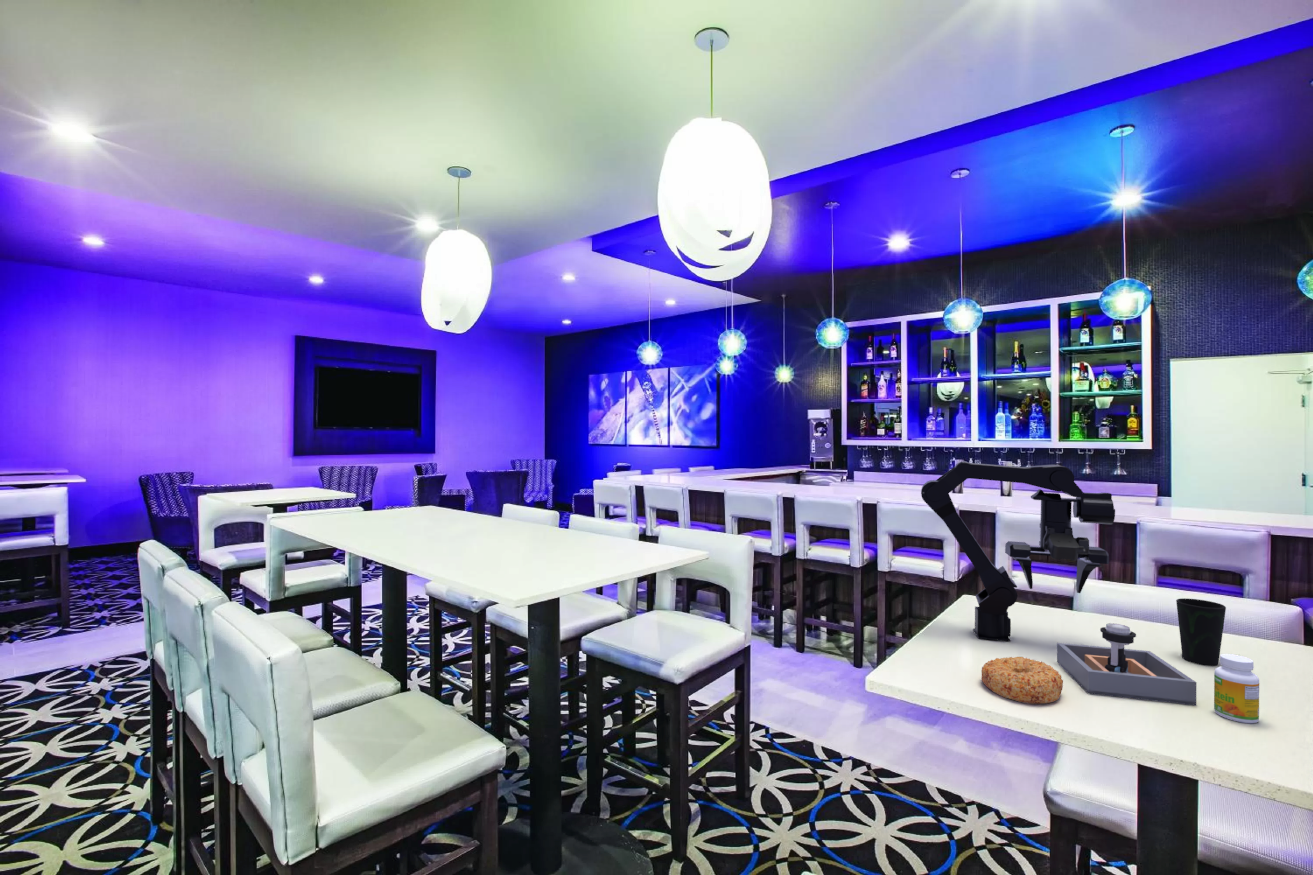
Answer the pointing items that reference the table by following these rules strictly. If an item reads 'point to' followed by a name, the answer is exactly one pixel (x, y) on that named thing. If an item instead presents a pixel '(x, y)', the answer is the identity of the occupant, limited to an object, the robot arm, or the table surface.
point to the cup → (1200, 630)
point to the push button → (1117, 646)
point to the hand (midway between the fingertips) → (1054, 590)
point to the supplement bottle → (1236, 689)
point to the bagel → (1022, 680)
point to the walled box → (1126, 675)
